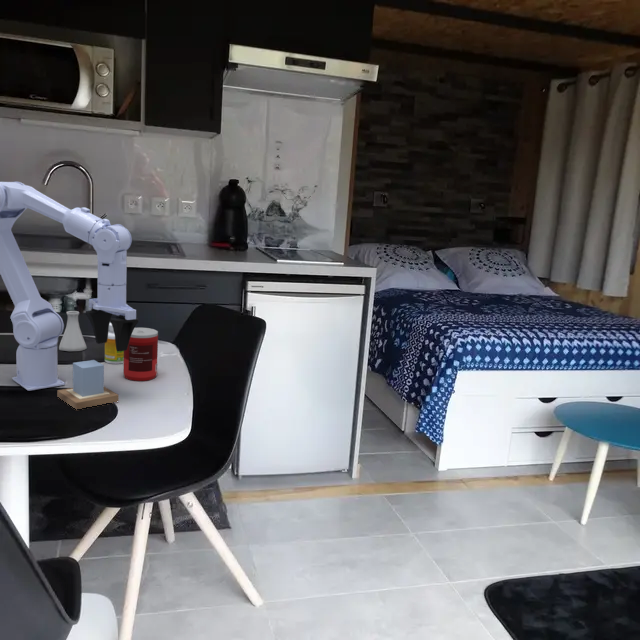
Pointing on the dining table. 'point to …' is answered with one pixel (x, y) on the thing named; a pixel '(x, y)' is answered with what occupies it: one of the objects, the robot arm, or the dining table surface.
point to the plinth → (86, 398)
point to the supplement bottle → (112, 349)
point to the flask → (72, 334)
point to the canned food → (141, 355)
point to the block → (88, 378)
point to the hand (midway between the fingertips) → (111, 346)
